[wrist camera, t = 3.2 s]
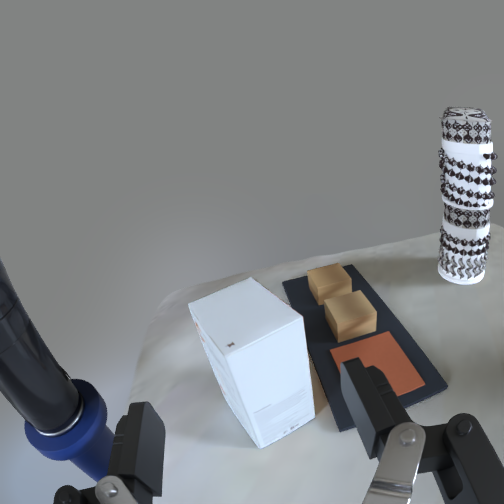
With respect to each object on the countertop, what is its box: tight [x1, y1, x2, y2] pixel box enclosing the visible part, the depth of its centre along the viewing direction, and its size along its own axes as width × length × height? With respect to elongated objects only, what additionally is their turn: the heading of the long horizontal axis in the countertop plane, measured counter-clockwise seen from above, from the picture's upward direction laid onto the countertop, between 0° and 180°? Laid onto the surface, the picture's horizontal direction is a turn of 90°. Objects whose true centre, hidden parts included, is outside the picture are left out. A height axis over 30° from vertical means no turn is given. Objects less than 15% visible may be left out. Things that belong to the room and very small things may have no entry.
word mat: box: [282, 264, 448, 432], centre depth 37 cm, size 12×28×1 cm, turn 7°
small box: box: [188, 277, 315, 449], centre depth 26 cm, size 8×6×13 cm
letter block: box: [307, 263, 352, 305], centre depth 43 cm, size 5×5×3 cm
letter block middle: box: [324, 290, 377, 343], centre depth 36 cm, size 5×5×3 cm
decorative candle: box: [438, 107, 497, 285], centre depth 36 cm, size 9×9×25 cm
